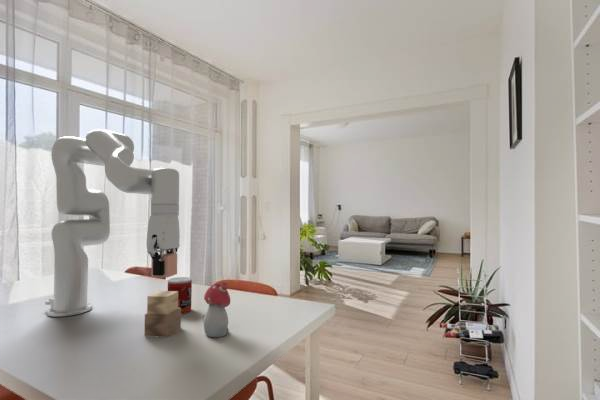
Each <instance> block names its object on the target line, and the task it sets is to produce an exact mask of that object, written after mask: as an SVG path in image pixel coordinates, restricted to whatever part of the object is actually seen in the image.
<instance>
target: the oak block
mask: <svg viewBox="0 0 600 400" xmlns="http://www.w3.org/2000/svg"><path fill="white" fill-rule="evenodd" d="M146 302H147V304H146V306H147V307H146V309H147V311H146V314H159V315H168V314H170V313H171V312H173V311H174V310H176V309H178V291H168V290H158V291H156V292H153V293H151V294H149V295H147V301H146Z"/></svg>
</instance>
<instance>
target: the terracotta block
mask: <svg viewBox="0 0 600 400" xmlns="http://www.w3.org/2000/svg"><path fill="white" fill-rule="evenodd" d="M158 254H159V255H160V253H158ZM163 261H165V262H164V275H163V276H157V275H153V261H152V260H151V265H150V266H151V268H150V273H151V274H150V276H151V278H170V277H172V276H175V275H177V274H178V253H176V254H167V253H165V252H164V257H163Z"/></svg>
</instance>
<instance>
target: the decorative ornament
mask: <svg viewBox="0 0 600 400" xmlns="http://www.w3.org/2000/svg"><path fill="white" fill-rule="evenodd" d="M229 288H230V286H229V284H228V282H226V281H223V282H220V284H219V283H215V284H212V285H211V286H209V288H208V289H206V291H205V293H204V296H203V299H204V301H205V303H206V304H207V305H208V308H207V310H206V312H205V314H204V317H203V318H204V319H203V329H204V333H205V335H206V336H208V337H209V338H220V337H224V336H227V335H228V334H229V327H228V325H229V316H228V313H227V312H228V311H227V310H226V307H229V306H230V304H231V296H230V293H229V292H228V289H229Z"/></svg>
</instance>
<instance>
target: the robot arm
mask: <svg viewBox="0 0 600 400" xmlns="http://www.w3.org/2000/svg"><path fill="white" fill-rule="evenodd" d="M54 141H55V142H54V143H53V145H52V148H51V154H50V156H51V157H50V158H51V161H52V165H53V169H54V171H55V172H54V173H55V178H56V179H55V180H56V183H55V184H56V185H55V186H56V206H57V207H56V208H57V211H58V212H59V213H60V214H61V215H62V216H63V215H64V216H70V217H71V216H72V217H73V216H75V217H76V216H79V217H80V216H84V217H85V216H86V217H87V216H88V217H89V219H83V218H82V219H81V218H79V219H64V220H61V221H58V222H57V223H55V224H54V225H53V227H52V229H51V240H52V244H53V252H54V263H53V264H54V266H53V267H54V270H53V272H54V277H53V279H54V280H53V297H50V298H49V299H48V300H46V301H45V304H44V305H45V306H50V308H49V309H48V310H47V313H46V314H47V316H49V317H56V318H58V317H59V318H60V317H69V316H71V317H72V316H74V315H79V314H80V315H81V314H83V313H86V312H88V311H91V310H92V309H93V303H90V302H88V291H89V290H88V285H89V283H88V282H89V258H88V255H87V253H86V251H85V250H84V249H83V248H82V247H87V246H97V245H103V244H104V243H106V242H107V240H108V239H109V237H110V232H111V225H110V224H111V221H110V215H111V214H110V201H109V199H108V196H107V194H106V193H105V192H103V191H101V190H98V189H88V188H87V177H86V174H85V173H84V171H83V169H82V168H81V167H80V166H79V164H85V165H94V166H102V167H104V173H105V177H106V179H107V180H108V181H109V182H110V183H111V184H112V185H113V186H114V187H115V188H117V189H118V190H120V191H121V192H123V193H127V194H138V195H139V194H141V195H150V200H151V202H150V216H149V219H148V222H147V223H148V225H147V233H146V249H147V250H146V252H147V253H148V254H149V256H150V258H151V262H152V261H153V275H157V276H163V275H164V262H165V261H163V257H164V253H167V254H178V253H177V252H178V250H179V248H180V246H181V245H180V236H181V235H180V221H179V216H180V171H178V170H177V169H175V168H171V167H170V168H168V167H160V168H159V167H158V168H154V169H147V168H143V167H142V168H140V167H134V166H131V165H133V162H134V159H135V156H134V152H135V151H134V150H135V145H134V144H135V143H134V142H133V140H132V138H130V136H128V135H127V134H124V133H119V132H116V131H111V130H109V129H108V130H107V129H103V128H102V129H100V128H98V129H93V130H89V132H88V133H87V134H86V135H85V138H81V137H77V136H62V137H59V138H58V139H56V140H54ZM77 163H79V164H77ZM159 254H160V255H159Z"/></svg>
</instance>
